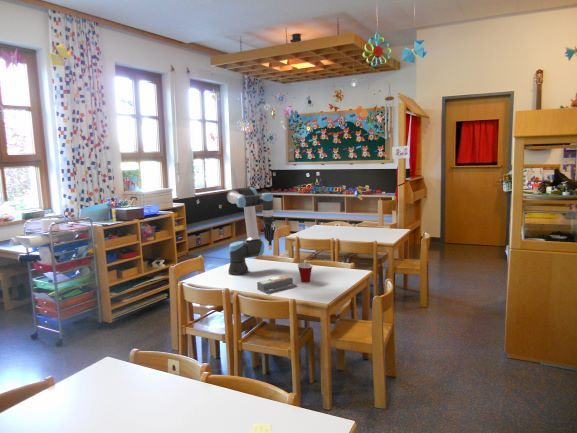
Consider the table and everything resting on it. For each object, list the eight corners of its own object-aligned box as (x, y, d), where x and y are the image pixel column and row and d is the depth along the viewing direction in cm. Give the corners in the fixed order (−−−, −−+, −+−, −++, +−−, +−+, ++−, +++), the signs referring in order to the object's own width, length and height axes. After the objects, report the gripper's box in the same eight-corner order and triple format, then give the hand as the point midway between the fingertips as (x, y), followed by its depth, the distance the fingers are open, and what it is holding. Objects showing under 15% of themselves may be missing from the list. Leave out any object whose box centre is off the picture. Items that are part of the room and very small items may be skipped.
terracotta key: (278, 281, 299) (278, 277, 299) (285, 279, 302) (285, 275, 302) (283, 283, 294) (282, 279, 294) (290, 281, 297) (290, 277, 297)
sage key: (259, 285, 291) (259, 281, 291) (267, 284, 294) (267, 279, 294) (264, 288, 286) (263, 283, 286) (271, 286, 289) (271, 281, 289)
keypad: (257, 289, 292) (257, 282, 291) (286, 282, 304) (286, 275, 303) (267, 294, 281) (266, 286, 281) (296, 286, 294) (296, 279, 293)
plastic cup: (310, 284, 297) (309, 267, 295) (295, 283, 302) (294, 266, 300) (315, 280, 307) (315, 263, 305) (301, 278, 312) (301, 262, 310)
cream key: (269, 282, 295) (268, 278, 295) (276, 280, 298) (276, 276, 298) (273, 284, 290) (273, 279, 290) (281, 282, 293) (281, 278, 293)
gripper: (258, 215, 301) (260, 248, 305) (268, 217, 290) (270, 252, 294) (267, 213, 305) (269, 246, 309) (278, 216, 294) (279, 250, 298)
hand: (269, 249), depth 302 cm, fingers closed
